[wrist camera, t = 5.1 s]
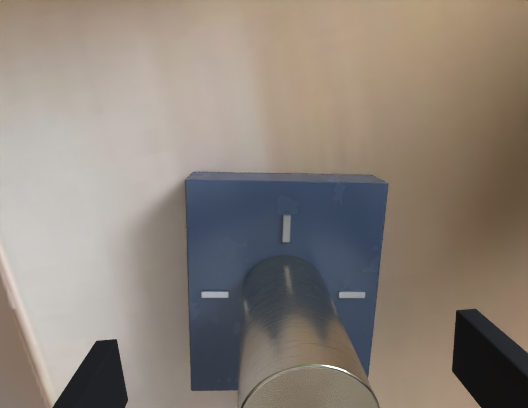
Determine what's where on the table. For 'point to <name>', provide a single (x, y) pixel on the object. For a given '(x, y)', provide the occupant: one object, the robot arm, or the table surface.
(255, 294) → the dial knob
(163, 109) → the table surface
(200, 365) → the dial panel
